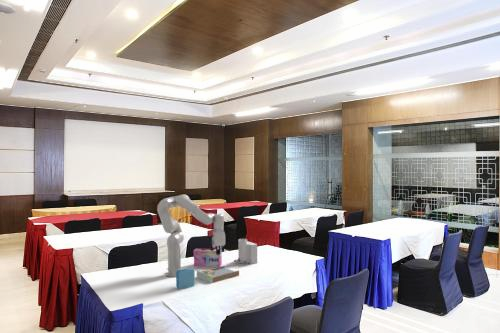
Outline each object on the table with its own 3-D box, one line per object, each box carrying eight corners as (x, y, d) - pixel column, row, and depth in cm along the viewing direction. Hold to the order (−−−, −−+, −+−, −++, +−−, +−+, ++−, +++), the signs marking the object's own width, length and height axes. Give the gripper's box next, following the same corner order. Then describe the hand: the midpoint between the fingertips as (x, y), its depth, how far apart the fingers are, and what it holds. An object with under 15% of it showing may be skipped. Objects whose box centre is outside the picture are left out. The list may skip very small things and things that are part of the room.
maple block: (204, 276, 259) (204, 271, 259) (210, 274, 263) (210, 269, 263) (208, 278, 255) (207, 272, 255) (214, 276, 259) (214, 270, 259)
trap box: (196, 277, 264) (196, 270, 264) (224, 270, 282) (224, 263, 282) (211, 283, 250) (211, 276, 250) (239, 275, 267) (239, 268, 267)
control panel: (257, 262, 301) (257, 239, 301) (239, 266, 291) (239, 242, 291) (247, 258, 315) (246, 236, 315) (229, 262, 304) (229, 239, 304)
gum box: (192, 266, 294) (192, 250, 294) (195, 263, 302) (194, 247, 302) (219, 267, 290) (219, 250, 290) (222, 264, 298) (221, 248, 298)
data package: (191, 284, 249) (191, 267, 249) (194, 285, 245) (194, 268, 245) (176, 287, 241) (176, 270, 241) (179, 289, 238) (178, 272, 238)
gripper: (213, 232, 259) (213, 256, 259) (229, 230, 269) (228, 253, 269) (207, 230, 265) (207, 254, 265) (223, 228, 274) (223, 251, 274)
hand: (218, 254), depth 267 cm, fingers closed
